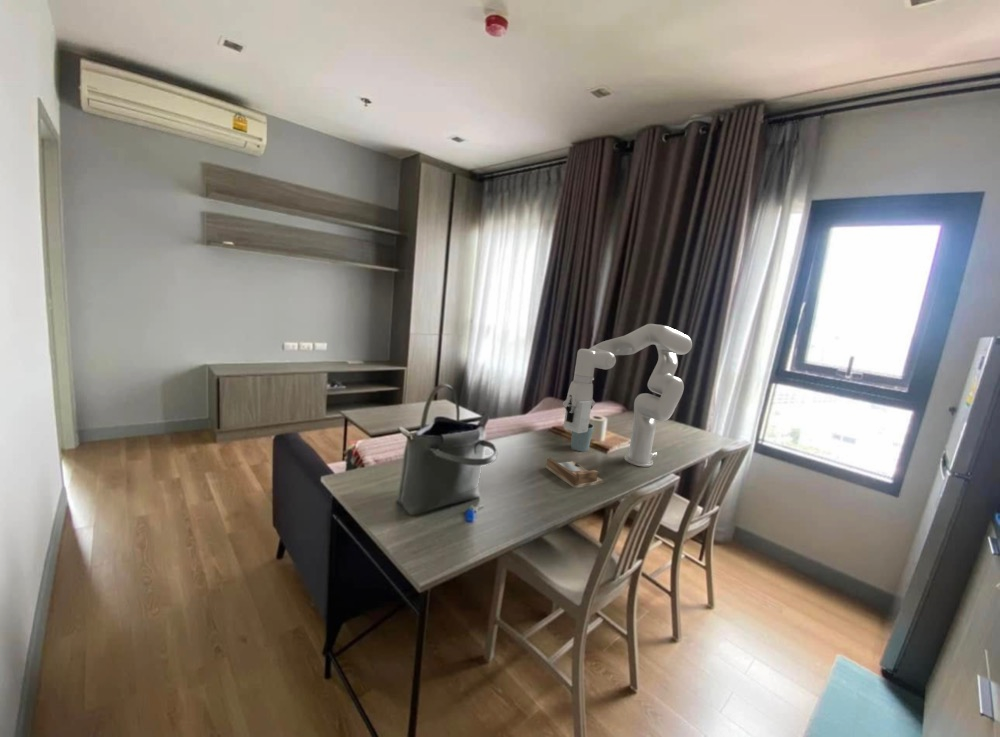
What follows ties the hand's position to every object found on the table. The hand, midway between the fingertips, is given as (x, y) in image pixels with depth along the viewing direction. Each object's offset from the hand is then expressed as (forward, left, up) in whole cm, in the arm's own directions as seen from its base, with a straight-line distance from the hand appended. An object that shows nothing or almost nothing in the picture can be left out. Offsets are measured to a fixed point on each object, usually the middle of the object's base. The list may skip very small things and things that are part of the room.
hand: (576, 420), depth 170 cm
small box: (0, 0, -4) cm, 4 cm away
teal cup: (-19, -17, -21) cm, 33 cm away
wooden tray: (+4, +7, -20) cm, 22 cm away
